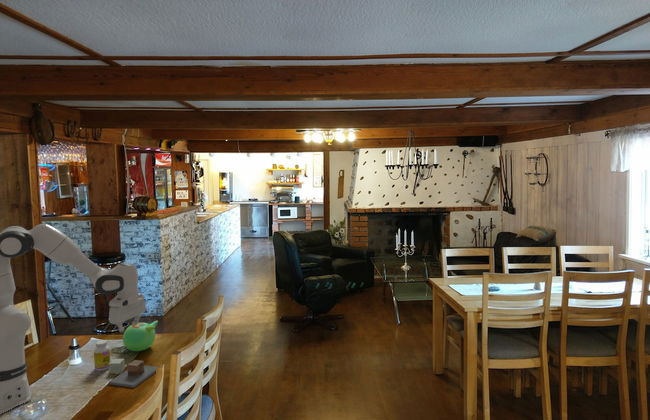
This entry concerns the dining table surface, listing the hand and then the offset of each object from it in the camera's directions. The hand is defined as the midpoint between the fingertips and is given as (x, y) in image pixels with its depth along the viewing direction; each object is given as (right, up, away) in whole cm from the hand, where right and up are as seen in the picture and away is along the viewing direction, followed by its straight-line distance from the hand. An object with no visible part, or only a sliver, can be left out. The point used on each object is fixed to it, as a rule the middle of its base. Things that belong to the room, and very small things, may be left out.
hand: (129, 327), depth 204 cm
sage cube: (-7, -22, +4) cm, 23 cm away
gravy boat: (-7, -19, +30) cm, 36 cm away
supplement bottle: (-16, -22, +7) cm, 28 cm away
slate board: (+4, -22, -2) cm, 22 cm away
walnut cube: (+4, -21, -1) cm, 21 cm away
